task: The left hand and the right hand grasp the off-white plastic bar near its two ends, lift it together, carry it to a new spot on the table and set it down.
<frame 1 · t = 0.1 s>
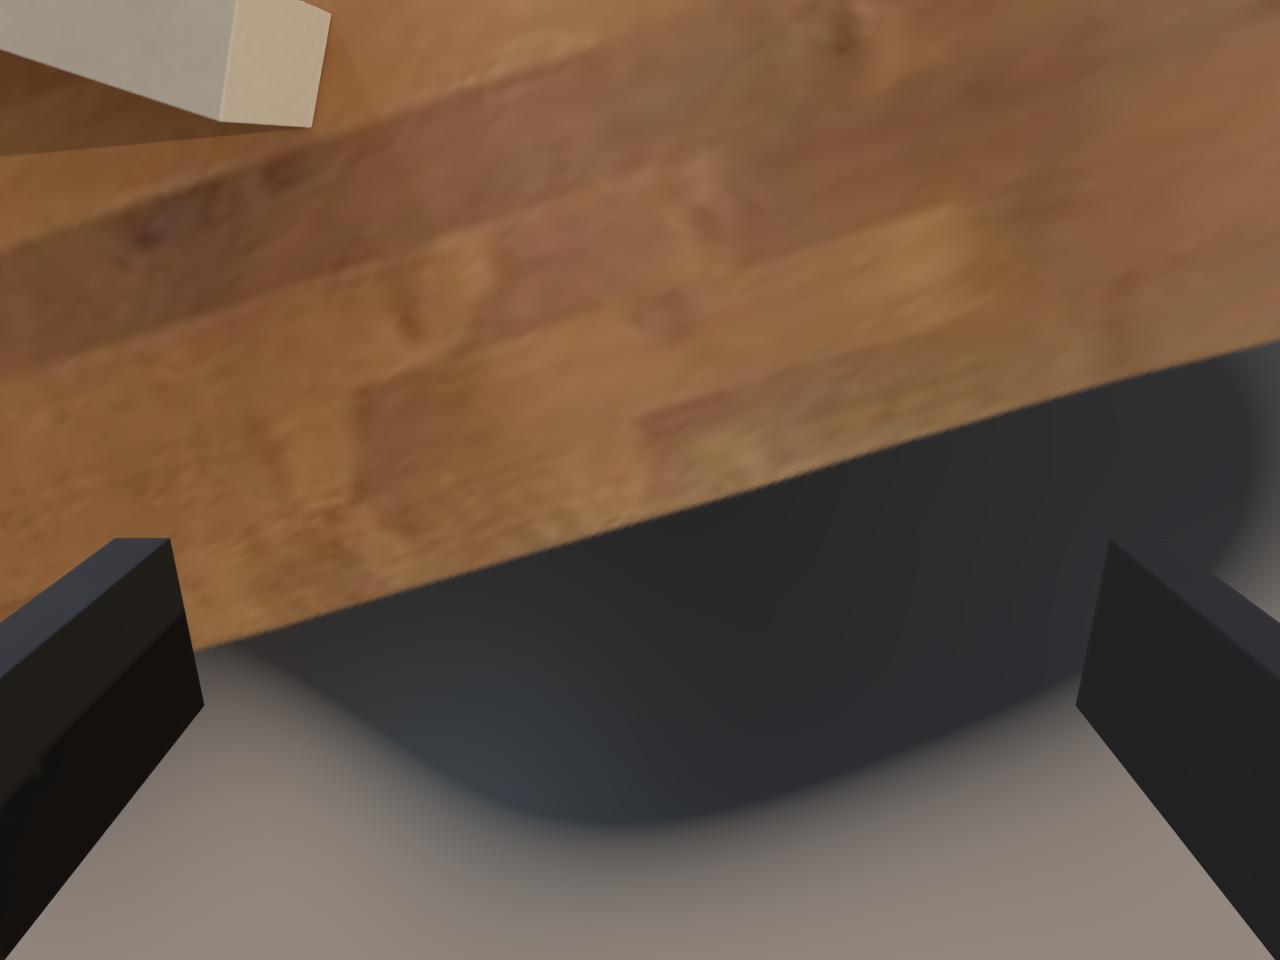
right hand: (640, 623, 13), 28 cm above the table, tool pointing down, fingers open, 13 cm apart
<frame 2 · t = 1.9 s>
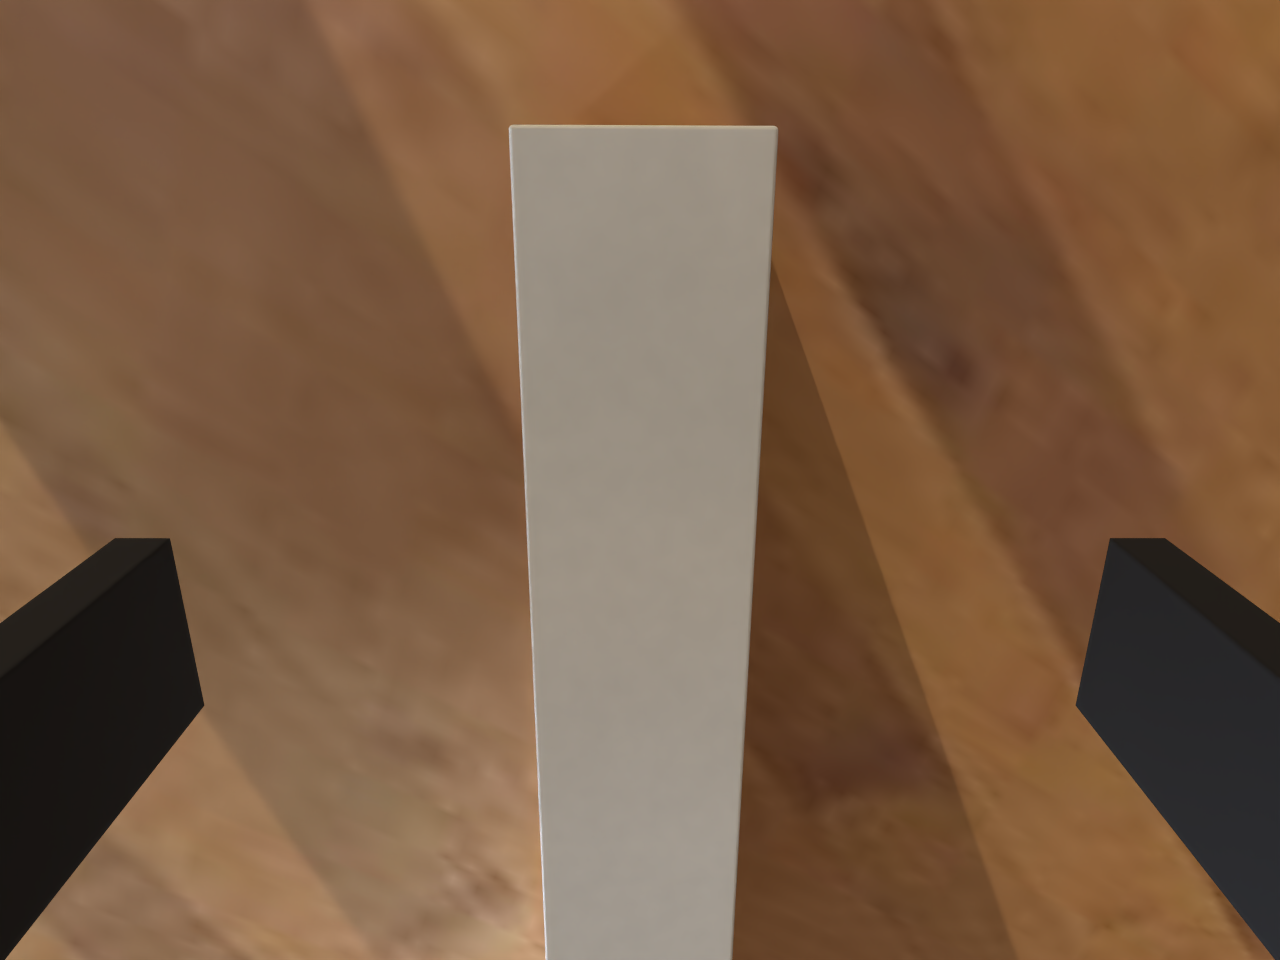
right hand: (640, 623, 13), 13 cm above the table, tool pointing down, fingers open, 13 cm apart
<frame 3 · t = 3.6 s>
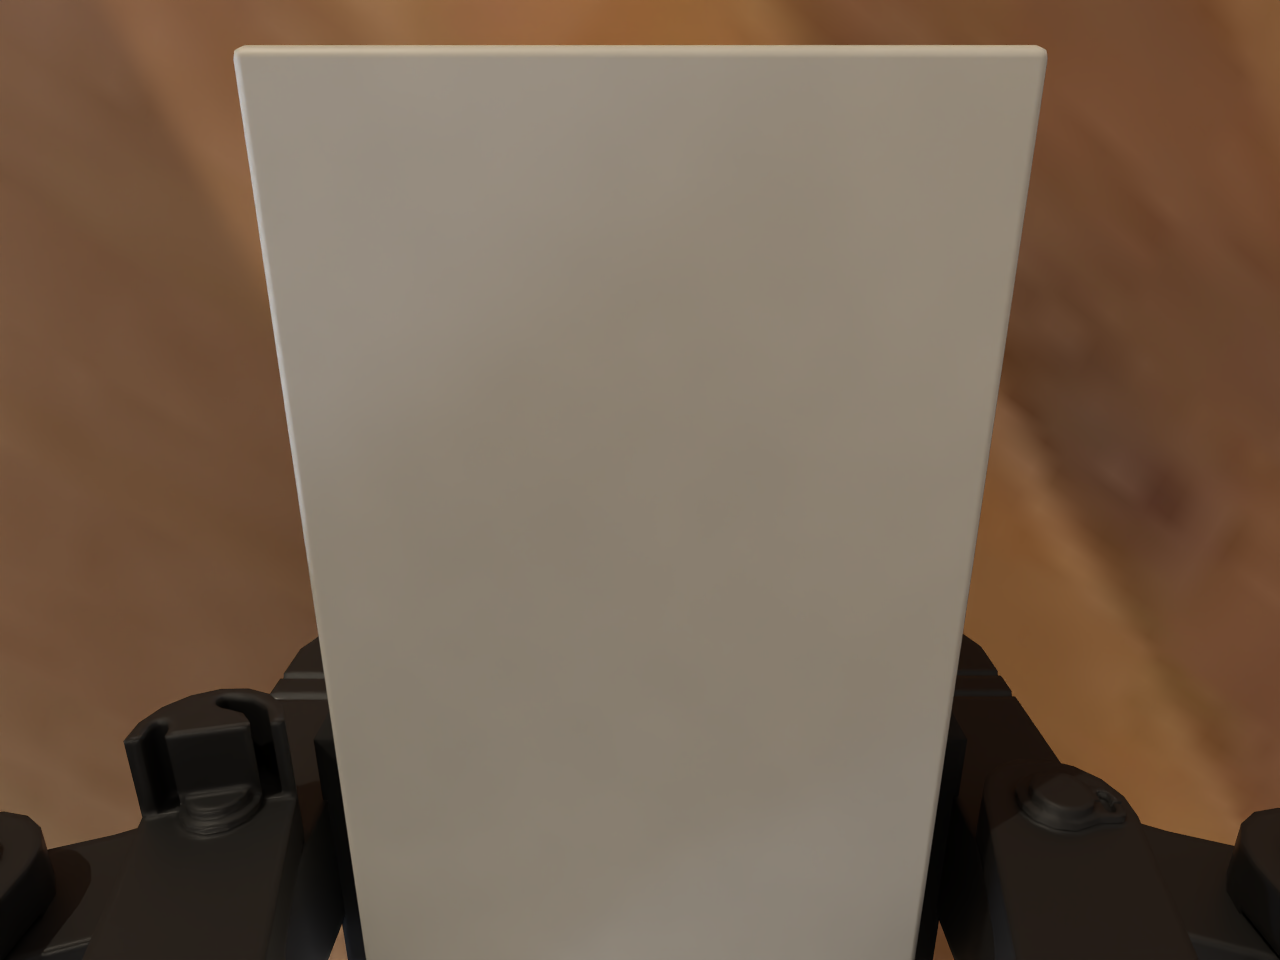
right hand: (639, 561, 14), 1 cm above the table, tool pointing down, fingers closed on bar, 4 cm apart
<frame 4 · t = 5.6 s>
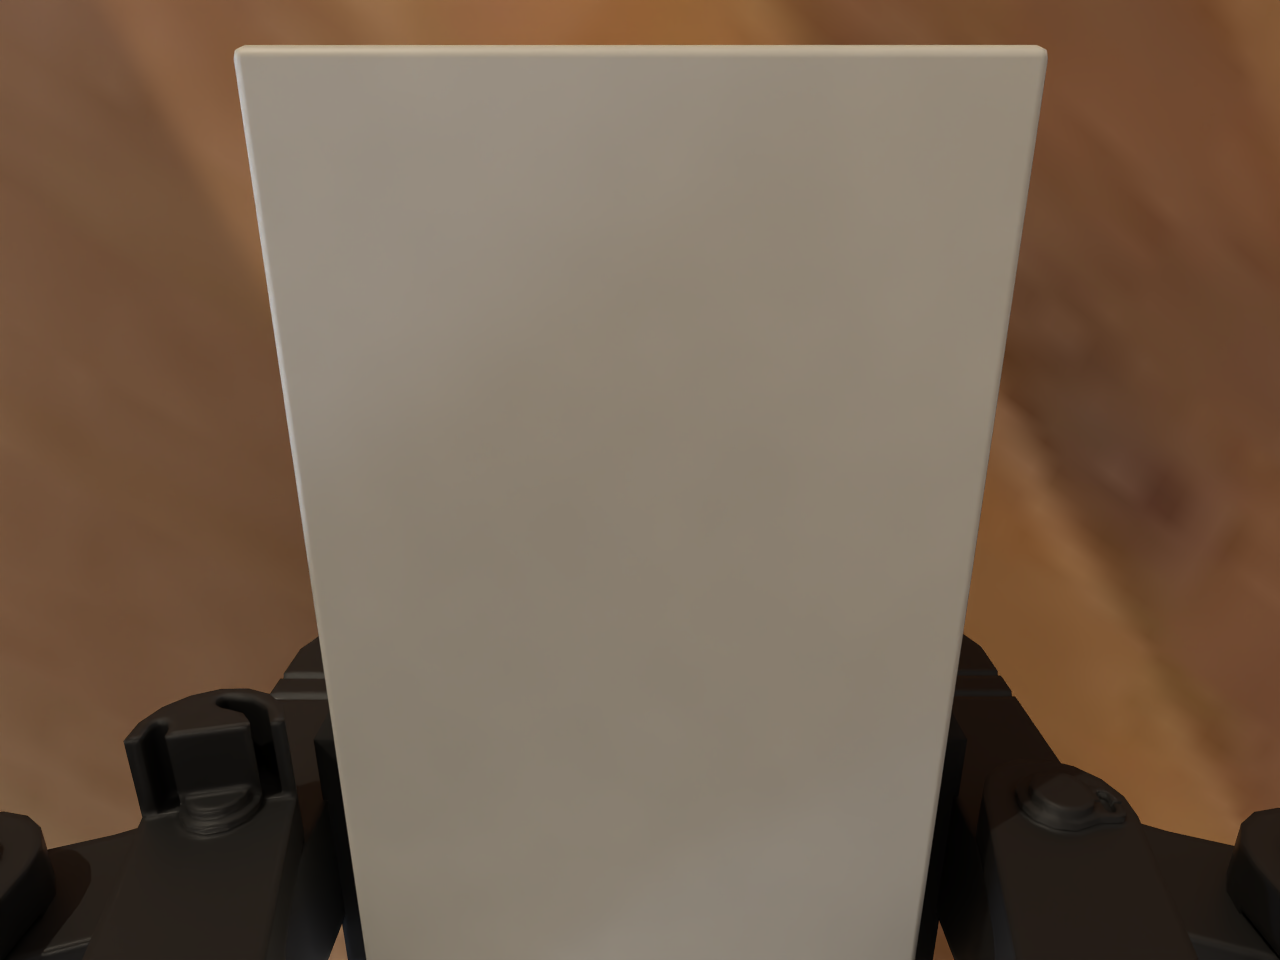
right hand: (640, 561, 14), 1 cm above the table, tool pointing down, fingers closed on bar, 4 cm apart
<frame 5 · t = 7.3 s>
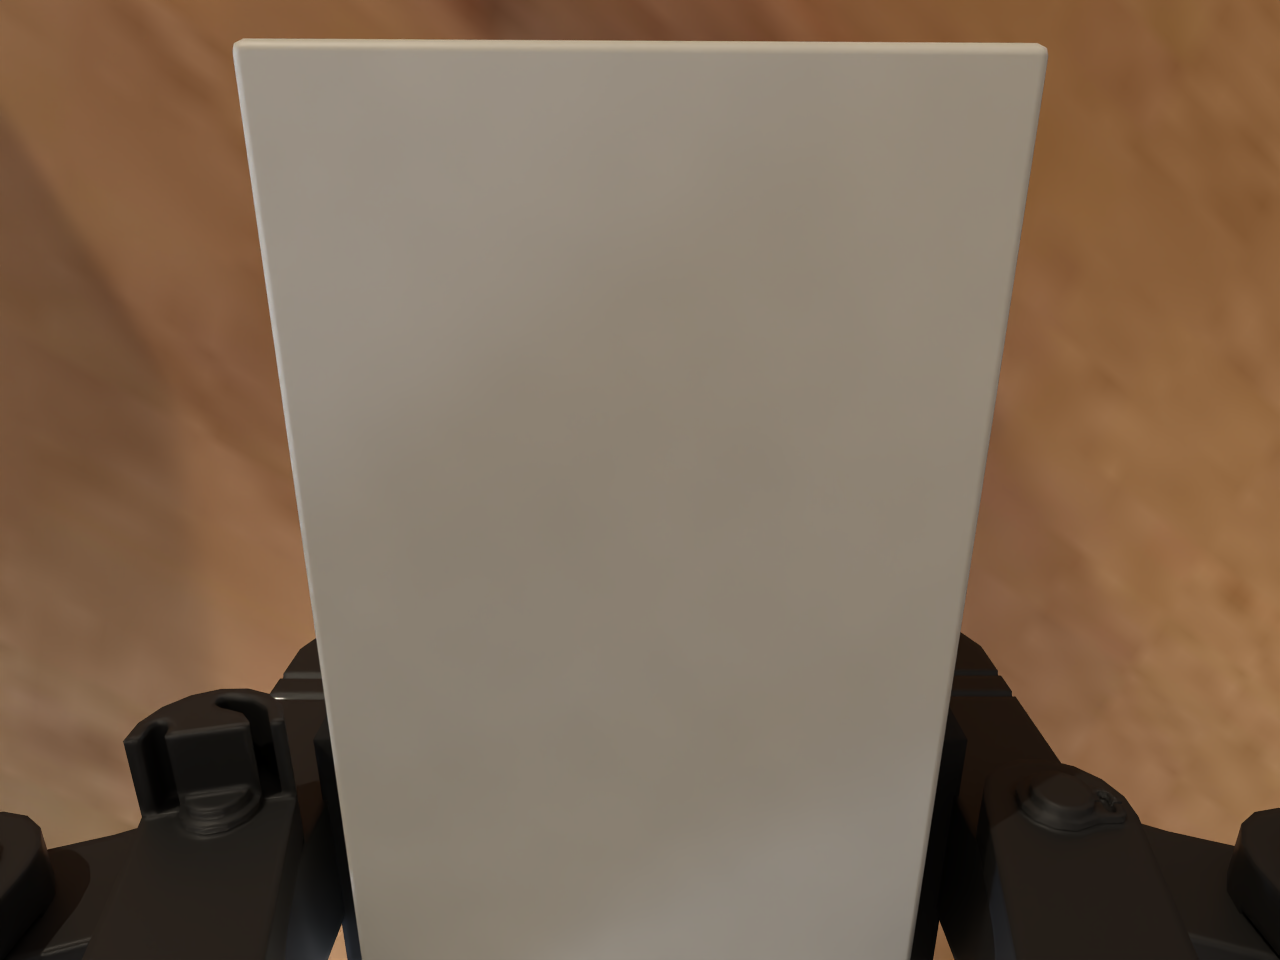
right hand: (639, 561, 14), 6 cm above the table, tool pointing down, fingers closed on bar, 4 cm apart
when the left hand's fingers open (2 cm above the table, at t = 9.2 s): bar drops 2 cm, on the table.
when the right hand's fingers open (2 cm above the table, at t = 9.2 s): bar drops 2 cm, on the table.
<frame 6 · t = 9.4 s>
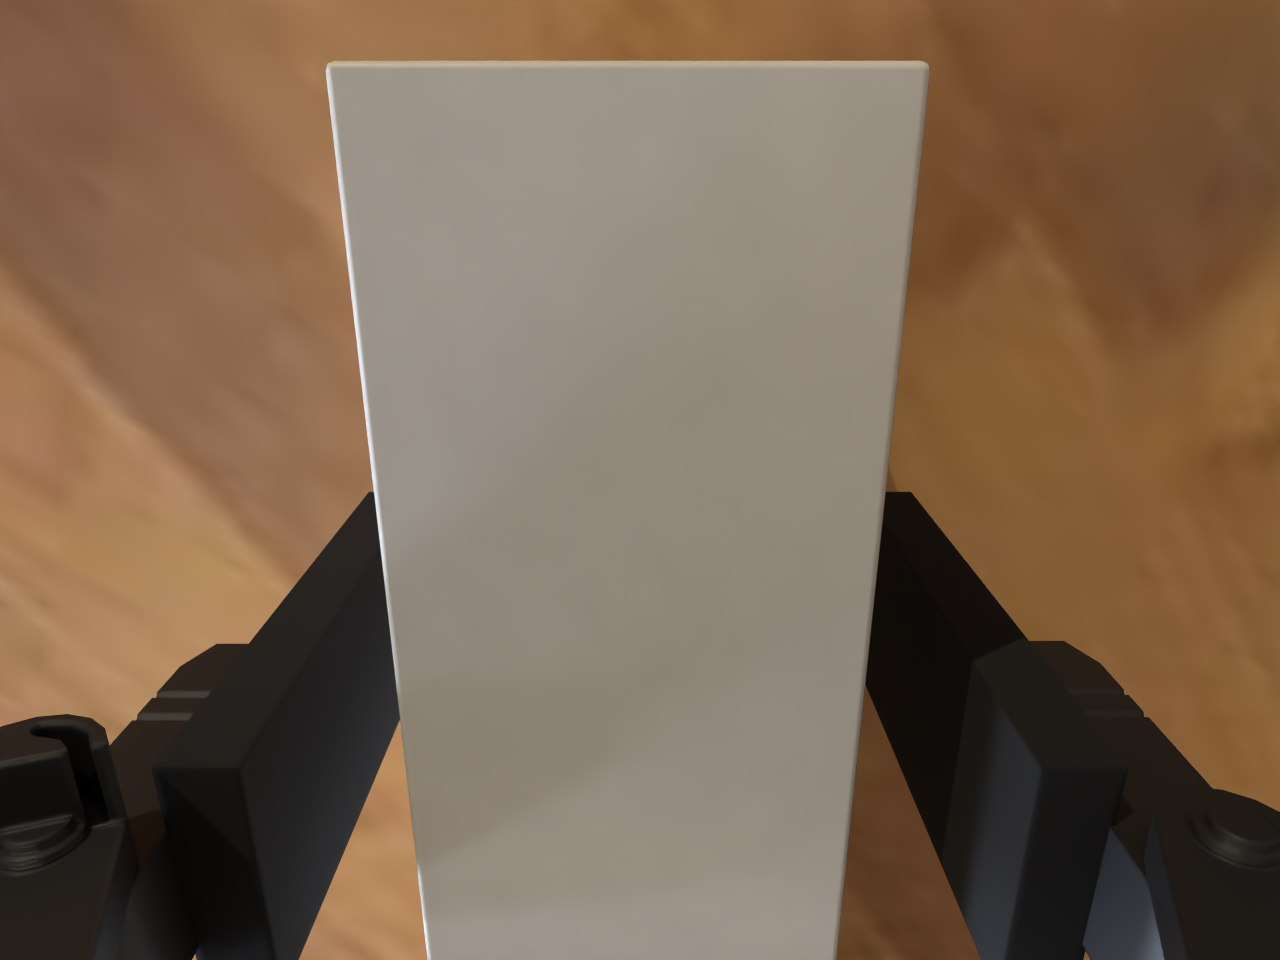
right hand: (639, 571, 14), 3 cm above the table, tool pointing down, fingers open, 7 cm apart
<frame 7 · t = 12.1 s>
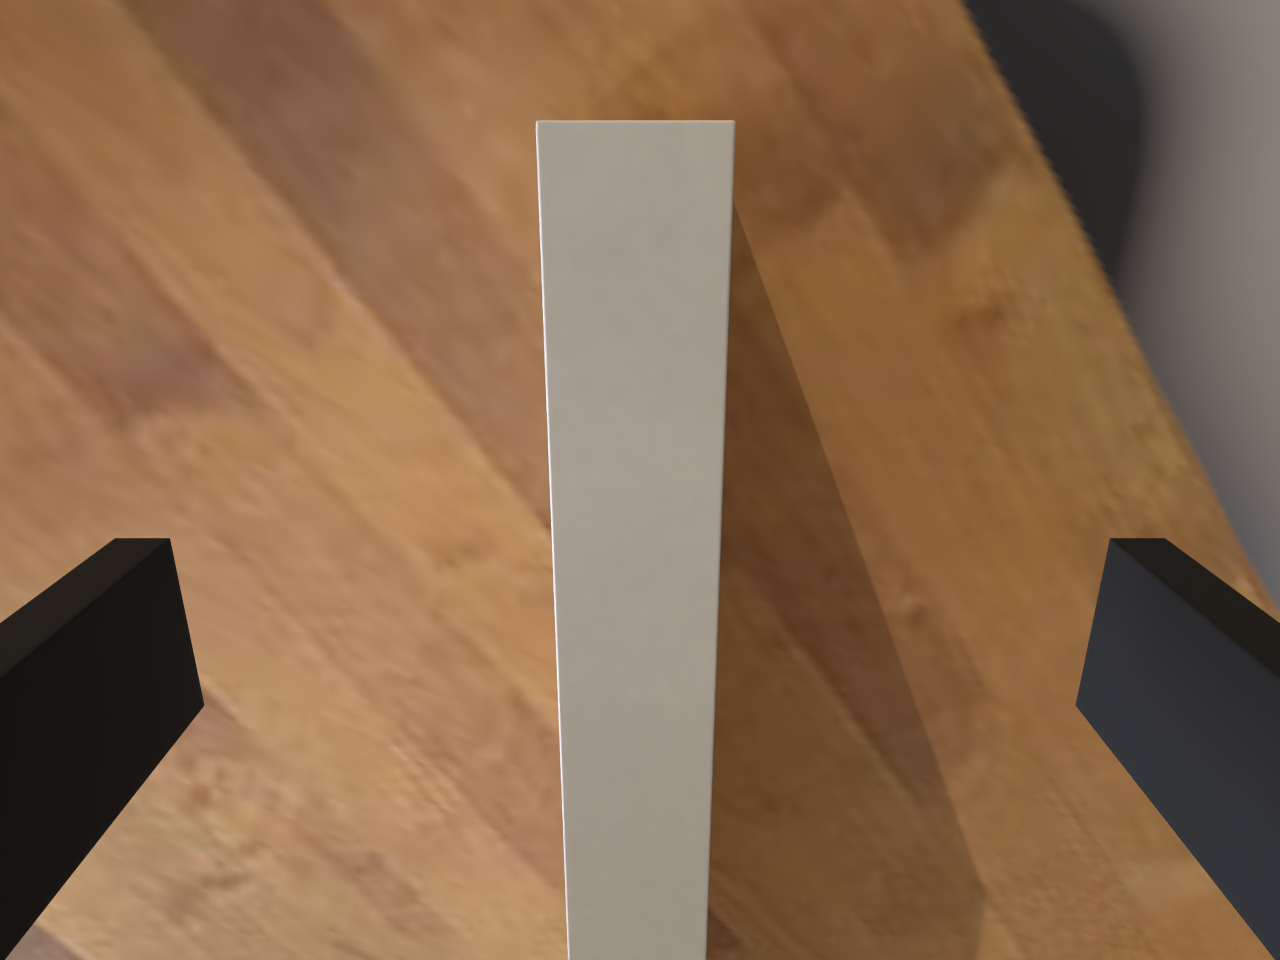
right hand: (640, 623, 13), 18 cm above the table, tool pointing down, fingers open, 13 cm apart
bar: (637, 881, 38), on the table
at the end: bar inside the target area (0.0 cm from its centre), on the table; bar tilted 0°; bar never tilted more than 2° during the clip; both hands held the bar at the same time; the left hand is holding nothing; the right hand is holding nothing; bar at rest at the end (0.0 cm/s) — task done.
